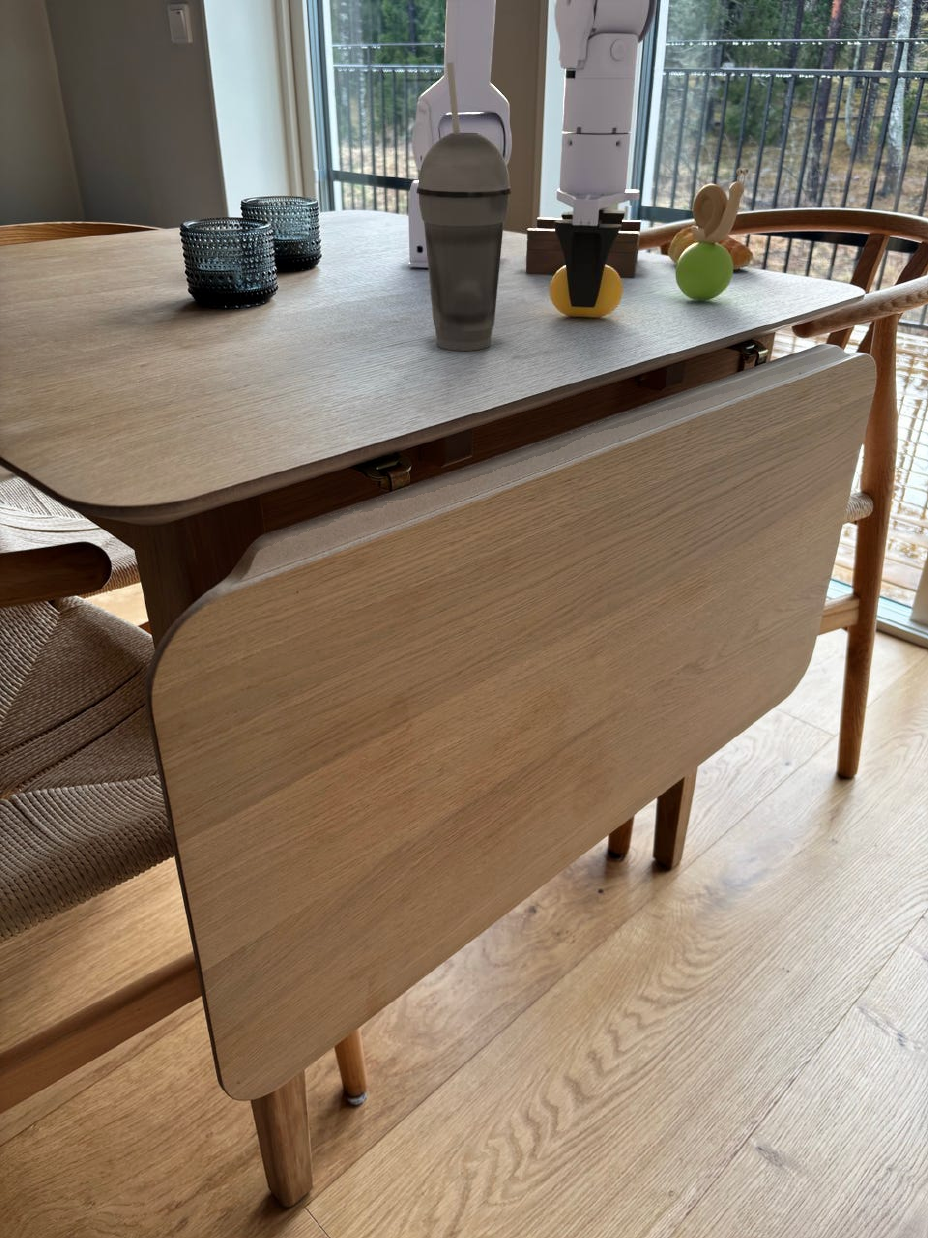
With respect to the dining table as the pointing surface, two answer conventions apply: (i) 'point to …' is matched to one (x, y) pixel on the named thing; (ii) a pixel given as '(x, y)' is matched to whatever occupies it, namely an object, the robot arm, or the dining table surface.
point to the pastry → (736, 249)
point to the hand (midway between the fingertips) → (585, 300)
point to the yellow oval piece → (605, 301)
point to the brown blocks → (549, 256)
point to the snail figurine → (710, 242)
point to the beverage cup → (463, 231)
